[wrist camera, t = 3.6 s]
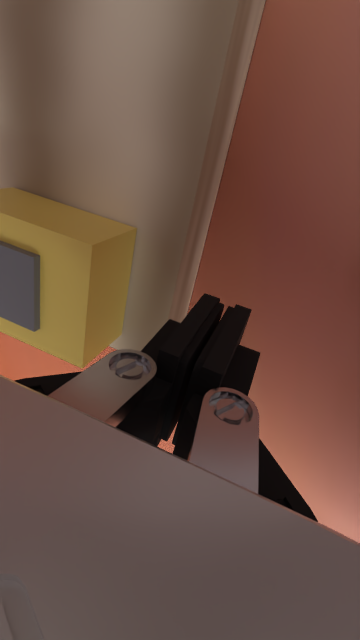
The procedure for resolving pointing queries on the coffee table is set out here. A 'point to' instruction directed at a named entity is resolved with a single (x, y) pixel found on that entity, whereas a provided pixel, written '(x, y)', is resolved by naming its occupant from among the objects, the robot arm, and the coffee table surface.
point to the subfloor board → (128, 125)
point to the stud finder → (62, 276)
